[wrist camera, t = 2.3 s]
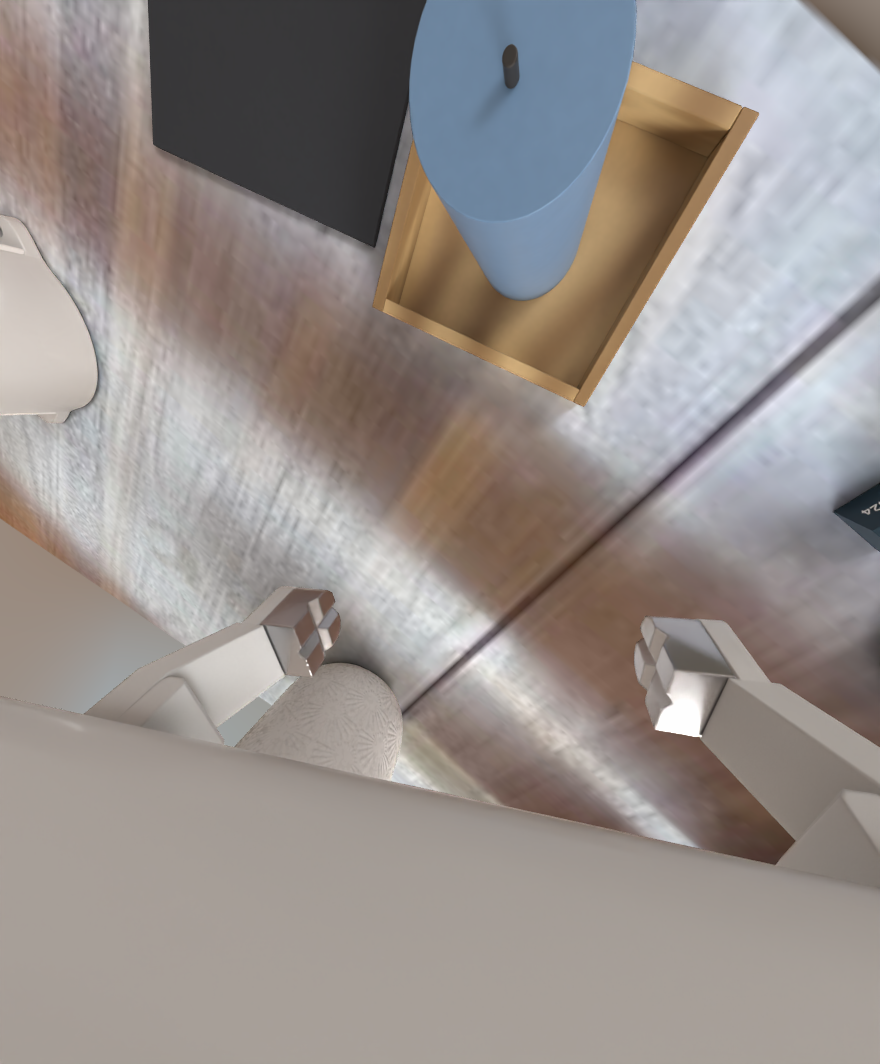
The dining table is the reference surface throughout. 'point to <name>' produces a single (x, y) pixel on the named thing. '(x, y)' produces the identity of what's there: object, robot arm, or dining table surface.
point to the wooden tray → (603, 254)
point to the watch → (864, 515)
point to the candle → (519, 124)
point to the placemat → (287, 98)
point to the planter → (333, 723)
